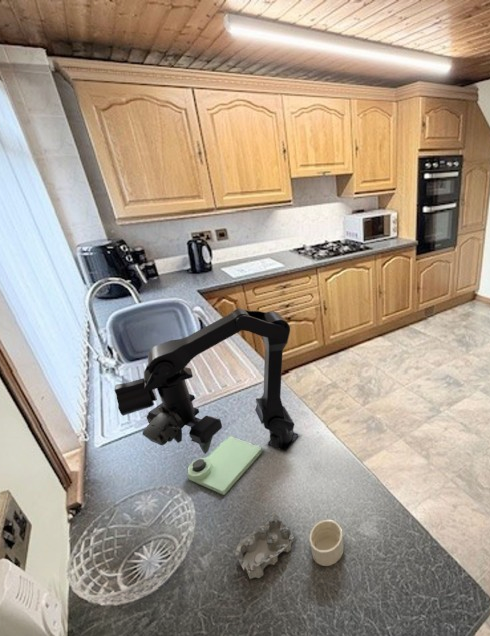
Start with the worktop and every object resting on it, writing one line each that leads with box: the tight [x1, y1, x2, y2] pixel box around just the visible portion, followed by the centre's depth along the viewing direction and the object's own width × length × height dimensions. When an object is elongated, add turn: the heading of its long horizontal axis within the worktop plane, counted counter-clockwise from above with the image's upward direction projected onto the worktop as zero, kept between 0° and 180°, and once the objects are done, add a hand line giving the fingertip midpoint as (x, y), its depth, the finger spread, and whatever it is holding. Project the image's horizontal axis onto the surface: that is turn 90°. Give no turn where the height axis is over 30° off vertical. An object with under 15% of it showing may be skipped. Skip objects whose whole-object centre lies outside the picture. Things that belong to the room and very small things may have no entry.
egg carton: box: [234, 514, 295, 580], centre depth 72 cm, size 11×8×4 cm
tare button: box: [193, 458, 205, 472], centre depth 90 cm, size 3×3×2 cm
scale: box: [187, 435, 264, 496], centre depth 93 cm, size 15×13×3 cm
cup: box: [308, 519, 345, 567], centre depth 71 cm, size 7×7×5 cm
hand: (192, 446), depth 87 cm, fingers open, 9 cm apart
